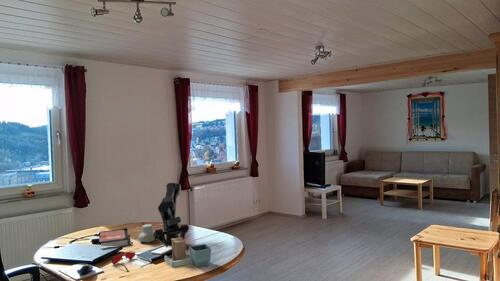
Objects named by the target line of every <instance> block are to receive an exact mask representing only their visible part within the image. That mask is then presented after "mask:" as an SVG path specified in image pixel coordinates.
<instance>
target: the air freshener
mask: <svg viewBox="0 0 500 281" xmlns="http://www.w3.org/2000/svg"><path fill="white" fill-rule="evenodd" d="M154 232H155V230H153V225H152V224H149V223H148V224H147V223H146V224H144V225H142V232H141V233H140V234H139V235H138V239H139V241H140V242H141V243H146V244H148V243H152V242H154V241H155V240H156V239H154V236H153V235H154Z"/></svg>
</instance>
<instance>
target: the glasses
mask: <svg viewBox="0 0 500 281" xmlns="http://www.w3.org/2000/svg"><path fill="white" fill-rule="evenodd" d="M123 255H124V257H125V259H126V260H127V259H128V260H129V261H131V260H133V259H134V257H136V256H137V257H140V258H143V259H146V260H147V261H148V262H149V263H150V265H153V263H152V261H150V259H149V258H147V257H145V256H142V255H139V254H136V252H135V251H134V250H130V251H126V252H124V253H121V254H120V253H119V254H117V255H114V256H112V258H111V260H110V262H111V264H112V265H113V266H115V265H119V266H123V267H124V268H125V269H126V272H127V273H129V272H130V271H129V269H128V267H127V266H126V265H124V264H122V263H119V262H120V261H123V260H124V257H123Z"/></svg>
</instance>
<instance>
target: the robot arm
mask: <svg viewBox="0 0 500 281" xmlns="http://www.w3.org/2000/svg"><path fill="white" fill-rule="evenodd" d="M165 189H166V193H165V195H164V197H163V198H162V200H161V202H160V203H159V205H158V207H157V209H158V213H159V216H160V218H161V220H162V224H163V225H162V227H163V228H158V229H155V230H154V235H153V236H154V239H155V240H157V241H159V242H160V243H162V245H164V246H165V247H166V248H168V247H169V246H172V240H171V239H173V238H179V237H181V238H183V239H184V240H186V239H185V238H186V237H185V236H186V234H187V233H188V232H189V229H190V227H189V224H185V223H184V224H180V223H182V222H181V221H182V219H181V216H177V203H178V202H177V199H178V197H179V196H180V193H181V190H182V186H181V183H179V182H178V183H177V182H168V183H167V184H166V188H165ZM179 224H180V225H179ZM179 234H180V235H179ZM165 236H166V237H165Z"/></svg>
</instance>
